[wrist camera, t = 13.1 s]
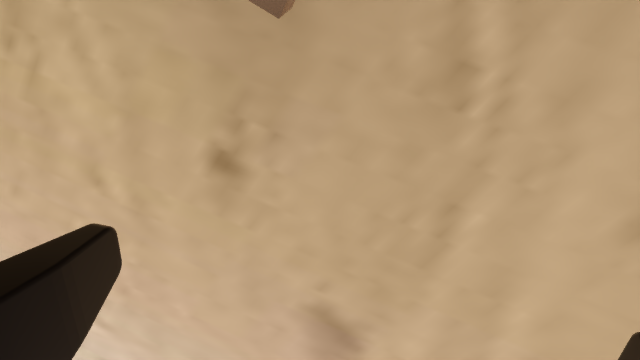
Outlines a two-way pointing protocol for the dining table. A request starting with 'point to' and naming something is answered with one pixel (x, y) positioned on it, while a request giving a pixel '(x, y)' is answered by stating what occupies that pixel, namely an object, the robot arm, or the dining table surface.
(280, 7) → the walnut stool
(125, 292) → the dining table surface
